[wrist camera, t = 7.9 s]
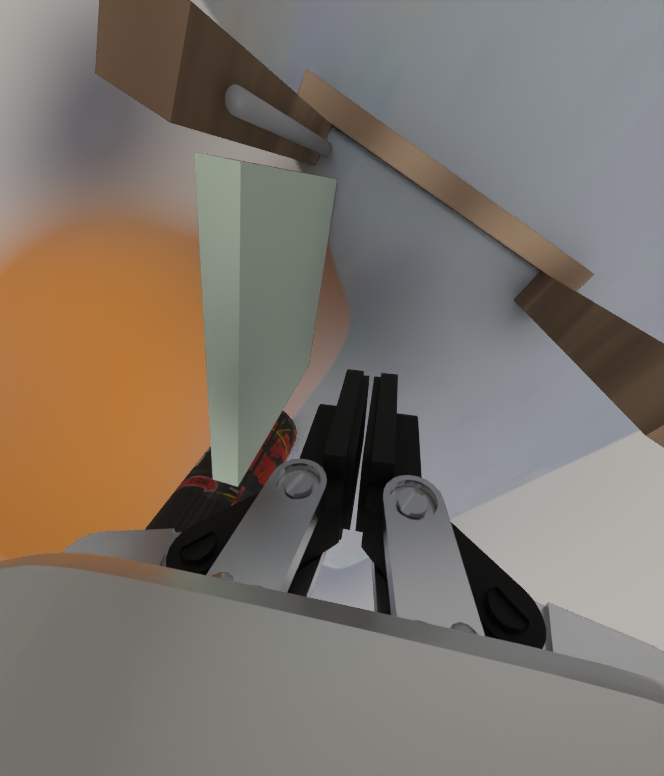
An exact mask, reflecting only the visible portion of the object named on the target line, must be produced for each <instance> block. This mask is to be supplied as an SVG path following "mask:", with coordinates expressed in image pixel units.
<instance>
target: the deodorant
mask: <svg viewBox="0 0 664 776" xmlns="http://www.w3.org/2000/svg"><path fill="white" fill-rule="evenodd" d="M296 434H297V433H296V428H295V425H294V423H293V421H292V419H291V418H290V417H289V416H288V415H287V414H286V413H285V412H284V411H282V412H281V414H280V416H279V417H278V419H277V421H276V422H275V424H274V426H273V428H272V429H271V431H270V433H269V434H268V436H267V438H266V440H265V441H264V443H263V445H262V446H261V448H260V450H259V451H258V453H257V455H256V457H255V458H254V460H253V462H252V463H251V465H250V467H249V469H248V470H247V472H246V474H245V475H244V477H243V479H242V480H241V482H240V484H239V486H238V487H237V486H233V485H230V484H227V483H223V482H220V481H217V480H213V475H212V457H211V446H210V447H209V449H208V450H207V451H206V453H205V454H204V455H203V456H202V458H201V459H200V460H199V462H198V463H197V464H196V465H195V467H194V468H193V469H192V470H191V472H190V473H189V474H188V475H187V477H186V478H185V479H184V481H183V482H182V483H181V484H180V486H179V487H178V488H177V489H176V491H175V492H174V493H173V494H172V496H171V497H170V498H169V500H168V501H167V502H166V503H165V505H164V506H163V507H162V508H161V510H160V511H159V512H158V513H157V515H156V516H155V517H154V519H153V520H152V521H151V522H150V524H149V525H148V526H147V527H146V529H145V530H151V529H173V528H174V530H175V532H183V531H184V530H186V529H187V528H189V527H190V526H192V525H194V524H196V523H198V522H200V521H202V520H204V519H206V518H208V517H210V516H212V515H214V514H216V513H218V512H220V511H222V510H224V509H226V508H228V507H230V506H232V505H234V504H236V503H238V502H240V501H242V500H244V499H246V498H248V497H250V496H252V495H255V494H257V493H259V492H260V491H261V490H262V488H263V487H264V485H265V484H266V482H267V480H268V479H269V477H270V476H271V474H272V473H273V472H274V470H275V469H276V468H277V467H278V466H280V465H281V464H283V463H284V462H286V460H287V457H288V455H289V453H290V451H291V449H292V447H293V444H294V442H295V440H296Z"/></svg>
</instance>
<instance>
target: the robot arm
mask: <svg viewBox="0 0 664 776" xmlns="http://www.w3.org/2000/svg"><path fill="white" fill-rule="evenodd" d="M397 383H398V375H396V374H386V373H381V377H374V383H373V390H372V397H371V404H370V411H369V418H368V425H367V432H366V439H365V446H364V453H363V461H362V470H361V480H360V490H359V501H358V511H357V521H356V531H359V532H363V536H362V546H361V547H362V548H363V550H364V551H365V552H366V554H367V555H368V556H369V557H370V559H371V560H372V577H373V578H372V579H373V594H374V610H375V612H373V611H369V610H363V609H359V608H355V607H350V606H346V605H341V604H337V603H332V602H327V601H322V600H318V599H313V598H310V597H311V595H312V592H313V589H314V586H315V583H316V581H317V578H318V575H319V572H320V570H321V567H322V564H323V562H324V559H325V555H326V550H328V549H330V548H331V547H333V546H334V545H336V544H337V543H338V542H339V540H341V537H342V531H343V529H348V530H350V525H351V519H352V512H353V506H354V499H355V492H356V486H357V479H358V473H359V466H360V459H361V453H362V446H363V438H364V428H365V418H366V407H367V397H368V386H369V376H365V375H364V371H358V370H349V369H348V370H347V373H346V376H345V379H344V383H343V386H342V390H341V393H340V397H339V400H338V404H337V406H333V405H325V404H320V405H319V407H318V410H317V413H316V415H315V418H314V421H313V423H312V426H311V429H310V432H309V434H308V437H307V440H306V442H305V445H304V448H303V451H302V453H301V456H300V459H293V460H290V461H287V462H284V463H283V464H281V465H280V466H278V467H277V468H276V469H275V470H274V472H273V473H272V474H271V476H270V477H269V479H268V480H267V482H266V484H265V485H264V487H263V488H262V490H261V491H260V492H259V493H257V494H255V495H252V496H250V497H248V498H246V499H244V500H242V501H240V502H238V503H236V504H234V505H232V506H230V507H228V508H226V509H224V510H222V511H220V512H218V513H216V514H214V515H212V516H210V517H208V518H206V519H204V520H202V521H200V522H198V523H196V524H194V525H192V526H190V527H189V528H187V529H186V530H184V531H183V532H175V530H174V528H173V529H151V530H132V531H131V530H128V531H106V532H97V533H92V534H88V535H86V536H84V537H82V538H80V539H78V540H76V541H75V542H74V543H72V544H71V545H70V546H68V547H67V548H66V549H65V550H64V552H61V553H44V554H37V555H29V556H23V557H18V558H13V559H8V560H3V561H0V776H664V652H663V651H662V650H660V649H658V648H656V647H655V646H652V645H650V644H647V643H645V642H643V641H640V640H638V639H635V638H633V637H631V636H628V635H625V634H623V633H621V632H618V631H616V630H614V629H611V628H609V627H606V626H604V625H602V624H599V623H597V622H594V621H592V620H590V619H587V618H585V617H582V616H580V615H577V614H575V613H573V612H570V611H568V610H565V609H563V608H561V607H558V606H556V605H553V604H551V603H547V604H546V605H545V606H544V605H542V604H539V603H537V602H535V601H534V600H533V599H532V598H531V597H530V596H529V594H528V593H527V592H526V591H525V590H524V589H523V588H522V587H521V586H520V585H519V584H517V583H516V582H515V581H514V580H513V579H512V578H511V577H510V576H509V575H508V574H507V573H505V572H504V571H503V570H502V569H501V568H500V567H499V566H498V565H497V564H496V563H495V562H494V561H493V560H491V559H490V558H489V557H488V556H487V555H486V554H485V553H484V552H483V551H482V550H480V549H479V548H478V547H477V546H476V545H475V544H474V543H473V542H472V541H471V540H470V539H469V538H468V537H466V536H465V535H464V534H463V533H462V532H461V531H460V530H459V529H458V528H457V527H456V526H455V525H453V524H452V523H451V522H450V519H449V515H448V512H447V509H446V505H445V502H444V499H443V497H442V495H441V493H440V492H439V490H438V489H437V488H436V487H435V486H434V485H433V484H431V483H430V482H428V481H427V480H425V479H423V478H422V477H421V461H420V444H419V428H418V417H417V416H413V415H405V414H397Z"/></svg>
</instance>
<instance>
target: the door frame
mask: <svg viewBox="0 0 664 776" xmlns="http://www.w3.org/2000/svg"><path fill="white" fill-rule="evenodd" d="M95 73H96V74H97V75H99V76H101V77H102V78H103V79H105V80H106V81H108V82H110V83H111V84H113V85H114V86H116V87H117V88H119V89H120V90H122V91H124V92H125V93H126V94H128V95H129V96H131V97H132V98H134V99H135V100H137V101H138V102H140V103H141V104H143V105H144V106H146V107H147V108H149V109H150V110H152V111H154V112H155V113H157V114H158V115H160V116H161V117H163V118H164V119H166V120H167V121H169V122H171V123H174V124H177V125H181V126H184V127H187V128H191V129H194V130H198V131H201V132H204V133H208V134H211V135H215V136H218V137H221V138H225V139H228V140H231V141H235V142H238V143H242V144H245V145H249V146H252V147H255V148H259V149H262V150H265V151H269V152H272V153H276V154H279V155H282V156H286V157H289V158H292V159H296V160H299V161H303V162H306V163H309V164H313V165H316V162H317V160H318V157H319V155H320V153H317V152H315V151H313V150H311V149H308V148H306V147H304V146H301V145H299V144H297V143H295V142H292V141H290V140H288V139H286V138H283V137H281V136H279V135H276V134H274V133H272V132H270V131H267V130H265V129H263V128H260V127H258V126H256V125H254V124H251V123H249V122H247V121H245V120H242V119H240V118H238V117H235V116H233V115H232V114H231V113H230V112H229V111H228V109H227V107H226V103H225V94H226V91H227V89H228V88H229V87H230V86H231V85H234V84H236V85H239V86H241V87H242V88H244V89H246V90H247V91H249V92H250V93H252V94H254V95H255V96H257V97H258V98H260V99H261V100H263V101H265V102H266V103H268V104H269V105H271V106H273V107H274V108H276V109H277V110H279V111H281V112H282V113H284V114H285V115H287V116H288V117H290V118H292V119H293V120H295V121H296V122H298V123H300V124H301V125H303V126H304V127H306V128H307V129H309V130H311V131H312V132H314V133H315V134H317V135H319V136H320V137H322V138H323V139H325V140H326V138H327V136H328V134H329V131H330V129H331V126H332V125H333V126H334V127H336V128H337V129H339V130H340V131H342V132H343V133H344V134H346V135H347V136H349V137H350V138H352V139H353V140H354V141H356V142H357V143H359V144H360V145H362V146H363V147H364V148H366V149H367V150H369V151H370V152H372V153H373V154H374V155H376V156H377V157H379V158H380V159H382V160H383V161H384V162H386V163H387V164H389V165H390V166H392V167H393V168H395V169H396V170H397V171H399V172H400V173H402V174H403V175H405V176H406V177H407V178H409V179H410V180H412V181H413V182H415V183H416V184H417V185H419V186H420V187H422V188H423V189H425V190H426V191H427V192H429V193H430V194H432V195H433V196H435V197H436V198H437V199H439V200H440V201H442V202H443V203H445V204H446V205H447V206H449V207H450V208H452V209H453V210H455V211H456V212H457V213H459V214H460V215H462V216H463V217H465V218H466V219H467V220H469V221H470V222H472V223H473V224H475V225H476V226H478V227H479V228H480V229H482V230H483V231H485V232H486V233H488V234H489V235H490V236H492V237H493V238H495V239H496V240H498V241H499V242H500V243H502V244H503V245H505V246H506V247H508V248H509V249H510V250H512V251H513V252H515V253H516V254H518V255H519V256H520V257H522V258H523V259H525V260H526V261H528V262H529V263H530V264H532V265H533V266H535V267H536V268H538V269H539V270H540V271H541V272H540V273H539V274H538V275H537V276H536V277H535V278H534V279H533V280H532V281H531V282H530V284H529V285H528V286H527V287H526V288H525V289H524V290H523V291H522V292H521V293H520V294H519V295H518V296H517V297H516V298H515V299H514V301H515V302H516V303H517V304H518V305H519V306H520V307H521V308H522V309H523V310H524V311H525V312H526V313H527V314H528V315H529V316H530V317H531V318H532V319H533V320H534V321H535V322H536V323H537V324H538V325H539V326H540V327H541V328H542V329H543V330H544V332H545V333H546V334H547V335H548V336H549V337H550V338H551V339H552V340H553V341H554V342H555V343H556V344H557V345H558V346H559V347H560V348H561V349H562V350H563V351H564V352H565V353H566V354H567V355H568V356H569V357H570V358H571V359H572V360H573V361H574V362H575V363H576V364H577V365H578V366H579V368H580V369H581V370H582V371H583V372H584V373H585V374H586V375H587V376H588V377H589V378H590V379H591V380H592V381H593V382H594V383H595V384H596V385H597V386H598V387H599V388H600V389H601V390H602V391H603V392H604V393H605V394H606V395H607V396H608V397H609V398H610V399H611V400H612V401H613V402H614V404H615V405H616V406H617V407H618V408H619V409H620V410H621V411H622V412H623V413H624V414H625V415H626V416H627V417H628V418H629V419H630V420H631V421H632V422H633V423H634V424H635V425H636V426H637V427H638V428H639V429H640V430H641V431H642V432H643V433H644V434H645V435H646V436H647V437H649V438H650V439H652V440H653V441H655V442H656V443H658V444H659V445H661V446H662V447H664V344H663V343H662V342H660V341H658V340H657V339H655V338H653V337H652V336H650V335H648V334H646V333H645V332H643V331H641V330H640V329H638V328H636V327H635V326H633V325H631V324H630V323H628V322H626V321H625V320H623V319H621V318H620V317H618V316H616V315H614V314H613V313H611V312H609V311H608V310H606V309H604V308H603V307H601V306H599V305H598V304H596V303H594V302H593V301H591V300H589V299H588V298H586V297H584V296H582V295H581V294H579V293H577V292H576V291H577V290H578V289H579V288H580V287H581V286H582V285H584V284H585V283H586V282H587V281H588V280H589V279H590V278H591V277H592V276H593V275H594V273H592V272H591V271H589V270H588V269H587V268H585V267H584V266H582V265H581V264H580V263H578V262H577V261H575V260H574V259H573V258H571V257H570V256H568V255H567V254H566V253H564V252H563V251H561V250H560V249H559V248H557V247H556V246H554V245H553V244H552V243H550V242H549V241H547V240H546V239H544V238H543V237H542V236H540V235H539V234H537V233H536V232H535V231H533V230H532V229H530V228H529V227H528V226H526V225H525V224H523V223H522V222H521V221H519V220H518V219H516V218H515V217H514V216H512V215H511V214H509V213H508V212H507V211H505V210H504V209H502V208H501V207H500V206H498V205H497V204H495V203H494V202H493V201H491V200H490V199H488V198H487V197H486V196H484V195H483V194H481V193H480V192H479V191H477V190H476V189H474V188H473V187H472V186H470V185H469V184H467V183H466V182H465V181H463V180H462V179H460V178H459V177H458V176H456V175H455V174H453V173H452V172H451V171H449V170H448V169H446V168H445V167H444V166H442V165H441V164H439V163H438V162H437V161H435V160H434V159H432V158H431V157H430V156H428V155H427V154H425V153H424V152H423V151H421V150H420V149H418V148H417V147H416V146H414V145H413V144H411V143H410V142H409V141H407V140H406V139H404V138H403V137H402V136H400V135H399V134H397V133H396V132H395V131H393V130H392V129H390V128H389V127H388V126H386V125H385V124H383V123H382V122H381V121H379V120H378V119H376V118H375V117H374V116H372V115H371V114H369V113H368V112H366V111H365V110H364V109H362V108H361V107H359V106H358V105H357V104H355V103H354V102H352V101H351V100H350V99H348V98H347V97H345V96H344V95H343V94H341V93H340V92H338V91H337V90H336V89H334V88H333V87H331V86H330V85H329V84H327V83H326V82H324V81H323V80H322V79H320V78H319V77H317V76H316V75H315V74H313V73H312V72H310V71H309V70H308V69H306V72H305V75H304V78H303V80H302V83H301V86H300V89H299V92H298V95H297V94H296V93H295V92H294V91H293V90H292V89H291V88H289V87H288V86H287V85H286V84H285V83H284V82H283V81H281V80H280V79H279V78H278V77H277V76H276V75H275V74H273V73H272V72H271V71H270V70H269V69H268V68H267V67H265V66H264V65H263V64H262V63H261V62H260V61H259V60H258V59H256V58H255V57H254V56H253V55H252V54H251V53H250V52H248V51H247V50H246V49H245V48H244V47H243V46H242V45H240V44H239V43H238V42H237V41H236V40H235V39H234V38H232V37H231V36H230V35H229V34H228V33H227V32H226V31H224V30H223V29H222V28H221V27H220V26H219V25H218V24H216V23H215V22H214V21H213V20H212V19H211V18H210V17H208V16H207V15H206V14H205V13H204V12H203V11H202V10H200V9H199V8H198V7H197V6H196V5H195V4H194V3H192V2H191V1H190V0H99V16H98V34H97V51H96V69H95Z"/></svg>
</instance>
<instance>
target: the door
mask: <svg viewBox="0 0 664 776" xmlns="http://www.w3.org/2000/svg"><path fill="white" fill-rule="evenodd" d="M225 103H226V107H227V109H228V111H229V112H230V113H231V114H232V115H233V116H235V117H238V118H240V119H242V120H245V121H247V122H249V123H251V124H254V125H256V126H258V127H260V128H263V129H265V130H267V131H270V132H272V133H274V134H276V135H279V136H281V137H283V138H286V139H288V140H290V141H292V142H295V143H297V144H299V145H301V146H304V147H306V148H308V149H311V150H313V151H315V152H317V153H320V154H322V155H324V156H328V155H330V154H331V152H332V145H331V144H330V142H328V141H327V140H325V139H323V138H322V137H320V136H319V135H317V134H315V133H314V132H312V131H311V130H309V129H307V128H306V127H304V126H303V125H301V124H300V123H298V122H296V121H295V120H293V119H292V118H290V117H288V116H287V115H285V114H284V113H282V112H281V111H279V110H277V109H276V108H274V107H273V106H271V105H269V104H268V103H266V102H265V101H263V100H261V99H260V98H258V97H257V96H255V95H254V94H252V93H250V92H249V91H247V90H246V89H244V88H242V87H241V86H239V85H236V84H234V85H231V86H230V87H229V88H228V89H227V91H226V94H225ZM194 157H195V158H194V160H195V177H196V194H197V212H198V230H199V246H200V265H201V282H202V299H203V317H204V334H205V352H206V368H207V369H206V370H207V386H208V405H209V422H210V439H211V457H212V475H213V480H217V481H220V482H223V483H227V484H230V485H233V486H237V487H238V486H239V484H240V482H241V480H242V479H243V477H244V475H245V474H246V472H247V470H248V469H249V467H250V465H251V463H252V462H253V460H254V458H255V457H256V455H257V453H258V451H259V450H260V448H261V446H262V445H263V443H264V441H265V440H266V438H267V436H268V434H269V433H270V431H271V429H272V428H273V426H274V424H275V422H276V421H277V419H278V417H279V416H280V414H281V412H282V411H283V408H284V407H285V405H286V404H287V402H288V400H289V399H290V397H291V395H292V393H293V392H294V390H295V388H296V387H297V385H298V383H299V381H300V380H301V378H302V376H303V375H304V373H305V371H306V370H307V368H308V366H309V362H310V356H311V349H312V343H313V336H314V330H315V323H316V316H317V309H318V303H319V296H320V290H321V283H322V277H323V270H324V264H325V257H326V250H327V244H328V237H329V231H330V224H331V217H332V211H333V204H334V198H335V191H336V184H337V179H332V178H327V177H322V176H318V175H313V174H307V173H302V172H297V171H292V170H286V169H281V168H276V167H271V166H265V165H260V164H255V163H250V162H245V161H239V160H234V159H229V158H223V157H218V156H213V155H208V154H203V153H197V152H194Z"/></svg>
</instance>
